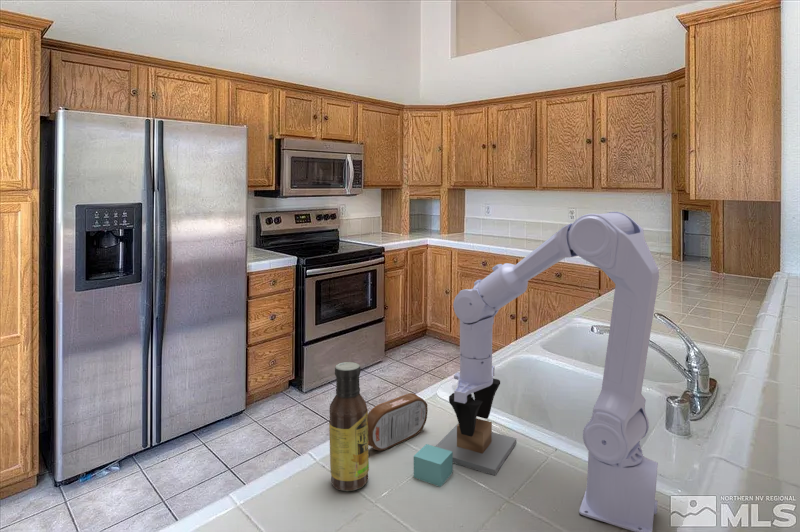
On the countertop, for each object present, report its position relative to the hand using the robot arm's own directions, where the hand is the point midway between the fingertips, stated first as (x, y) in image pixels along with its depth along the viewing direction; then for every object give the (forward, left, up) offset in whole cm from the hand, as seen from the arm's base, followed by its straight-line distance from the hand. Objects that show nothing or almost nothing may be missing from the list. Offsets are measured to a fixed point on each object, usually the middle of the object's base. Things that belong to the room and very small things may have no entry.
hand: (475, 425), depth 87 cm
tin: (+14, +4, -5) cm, 16 cm away
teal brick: (+3, +11, -5) cm, 12 cm away
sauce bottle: (+14, +19, -5) cm, 25 cm away
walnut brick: (0, 0, -4) cm, 4 cm away
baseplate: (0, 0, -5) cm, 5 cm away
